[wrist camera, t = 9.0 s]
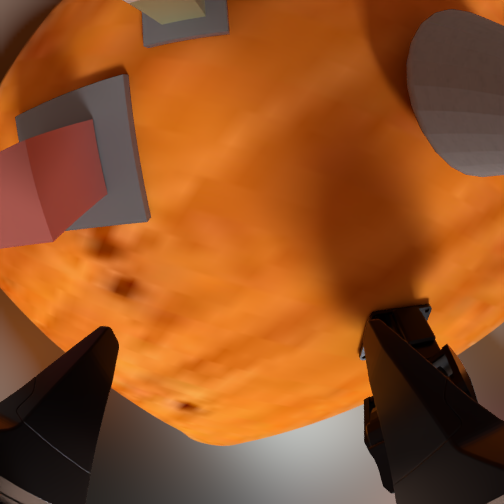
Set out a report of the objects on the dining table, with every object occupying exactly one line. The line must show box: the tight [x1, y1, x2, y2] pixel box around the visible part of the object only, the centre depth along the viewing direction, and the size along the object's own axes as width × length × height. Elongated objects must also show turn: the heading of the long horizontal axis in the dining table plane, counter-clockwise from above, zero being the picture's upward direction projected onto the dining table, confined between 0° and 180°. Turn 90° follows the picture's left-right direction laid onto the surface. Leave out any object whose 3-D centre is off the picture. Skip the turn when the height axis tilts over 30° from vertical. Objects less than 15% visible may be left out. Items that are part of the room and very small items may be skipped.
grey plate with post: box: [15, 74, 151, 231], centre depth 14 cm, size 10×10×7 cm
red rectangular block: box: [0, 119, 108, 249], centre depth 13 cm, size 5×5×7 cm
